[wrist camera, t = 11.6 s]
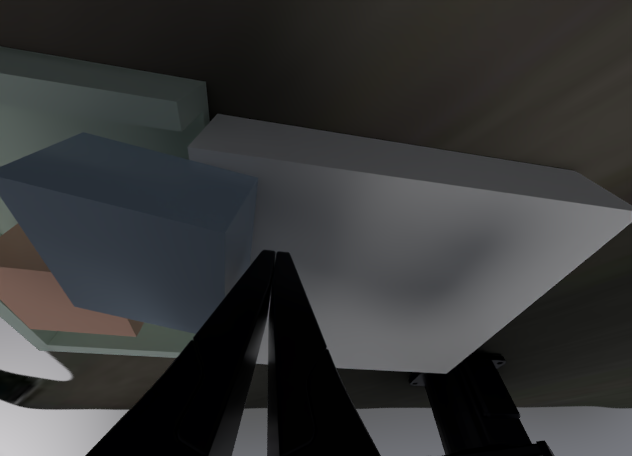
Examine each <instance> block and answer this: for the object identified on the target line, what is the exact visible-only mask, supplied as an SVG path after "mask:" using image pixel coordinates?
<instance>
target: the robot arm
mask: <svg viewBox="0 0 632 456" xmlns="http://www.w3.org/2000/svg"><path fill="white" fill-rule="evenodd" d="M275 256H276V259H275ZM270 297H271V299H270ZM269 304H270V309H269ZM268 311H269V320H268V432H267V437H268V438H267V439H268V440H267V456H381V455H380V454H379V452H378V450H377V448H376V446H375V444H374V443H373V440H372V439H371V437H370V435H369V433H368V431H367V429H366V427H365V426H364V424H363V422H362V420H361V418H360V416H359V414H358V412H357V410H356V409H355V407H354V405H353V403H352V401H351V399H350V397H349V395H348V393H347V391H346V389H345V387H344V385H343V383H342V381H341V378H340V376H339V374H338V371H337V369H336V367H335V364H334V362H333V360H332V357H331V355H330V352H329V350H328V349H327V345H326V342H325V340H324V337H323V335H322V332H321V330H320V327H319V325H318V322H317V320H316V317H315V315H314V312H313V310H312V307H311V305H310V302H309V300H308V297H307V295H306V292H305V290H304V287H303V285H302V282H301V280H300V277H299V275H298V272H297V270H296V267H295V265H294V262H293V260H292V257H291V255H290V253H289V252H282V251H278V252H277V253H276V252H275V251H273V250H262V251H261V252H260V254H259V255H258V256H257V257H256V259H255V260H254V261H253V262H252V264H251V265H250V266H249V268H248V269H247V270H246V271H245V273H244V274H243V275H242V276H241V278H240V279H239V280H238V281H237V283H236V284H235V285H234V286H233V288H232V289H231V290H230V291H229V293H228V294H227V295H226V297H225V298H224V299H223V300H222V302H221V303H220V304H219V305H218V307H217V308H216V309H215V310H214V312H213V313H212V314H211V315H210V317H209V318H208V319H207V320H206V322H205V323H204V324H203V326H202V327H201V328H200V329H199V331H198V332H197V333H196V334H195V336H194V337H193V340H194V341H193V340H191V341H190V342H189V343H188V344H187V345H186V347H185V348H184V349H183V351H182V352H181V353H180V354H179V355H178V357H177V358H176V359H175V360H174V361H173V363H172V364H171V365H170V366H169V367H168V369H167V370H166V371H165V372H164V373H163V374H162V376H161V377H160V378H159V379H158V380H157V381H156V382H155V383H154V384H153V385H152V386H151V388H150V389H149V390H148V391H147V392H146V393H145V394H144V395H143V396H142V397H141V398H140V399H139V400H138V401H137V402H136V404H135V405H134V406H133V407H132V408H131V409H130V410H129V411H128V412H127V413H126V414H125V415H124V416H123V417H122V418H121V419H120V420H119V421H118V422H117V423H116V425H114V426H113V427H112V429H111V430H110V431H109V432H108V433H107V434H106V435H105V436H104V437H103V438H102V439H101V440H100V441H99V442H98V443H97V444H96V445H95V446H94V447H93V449H91V450H90V451H89V452H88V454H87V455H86V456H232V452H233V448H234V445H235V441H236V437H237V433H238V429H239V426H240V421H241V417H242V414H243V410H244V406H245V403H246V399H247V395H248V391H249V387H250V384H251V380H252V376H253V372H254V368H255V364H256V361H257V357H258V353H259V349H260V345H261V341H262V338H263V334H264V330H265V326H266V322H267V317H268ZM505 363H506V361H505V359H504V357H503V356H493V355H477V354H470V355H469V356H468V357H466V358H465V359H464V360H463V361H461V362H460V363H459V364H458V365H457V366H455V367H454V368H453V369H452V370H450V371H449V372H448V373H447V374H443V373H424V372H416V373H415V374H414V375H413V376H412V377H411V378H410V379H409V383H410V385H413V386H425V388H426V392H427V395H428V398H429V402H430V405H431V408H432V411H433V415H434V418H435V421H436V424H437V428H438V431H439V435H440V438H441V441H442V445H443V448H444V451H445V455H444V456H554V454H553V452H552V451H551V449H550V448H549V446H548V445H547V443H546V442H545V441H538V442H537V443H536V444H532V443H531V441H530V439H529V437H528V435H527V433H526V431H525V429H524V427H523V425H522V423H521V421H520V419H519V418H520V414H519V412H518V410H517V408H516V406H515V404H514V402H513V400H512V398H511V396H510V394H509V392H508V390H507V388H506V386H505V384H504V383H503V381H502V379H501V377H500V375H499V373H498V371H497V369H498V368H499V367H501V366H502V365H504V364H505Z"/></svg>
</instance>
